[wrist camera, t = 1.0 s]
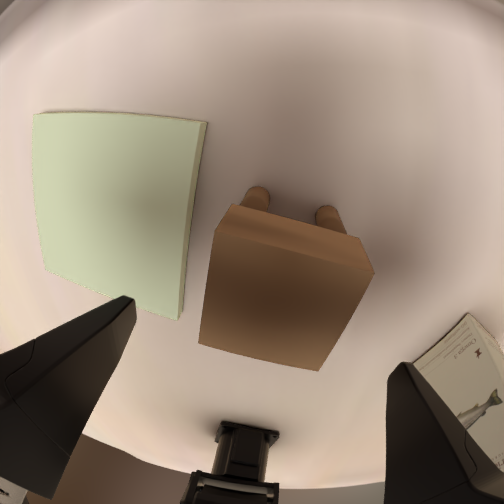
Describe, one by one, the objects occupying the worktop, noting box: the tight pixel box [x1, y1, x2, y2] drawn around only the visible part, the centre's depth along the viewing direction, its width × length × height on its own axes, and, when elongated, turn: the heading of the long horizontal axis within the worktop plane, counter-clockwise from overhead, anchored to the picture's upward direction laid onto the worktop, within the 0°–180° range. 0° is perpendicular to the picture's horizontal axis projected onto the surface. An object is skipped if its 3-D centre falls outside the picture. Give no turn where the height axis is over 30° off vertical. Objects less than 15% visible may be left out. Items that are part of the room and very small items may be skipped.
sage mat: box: [32, 112, 207, 321], centre depth 15 cm, size 12×12×1 cm
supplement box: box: [413, 314, 504, 472], centre depth 12 cm, size 7×7×13 cm
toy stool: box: [198, 186, 374, 371], centre depth 12 cm, size 5×5×6 cm
